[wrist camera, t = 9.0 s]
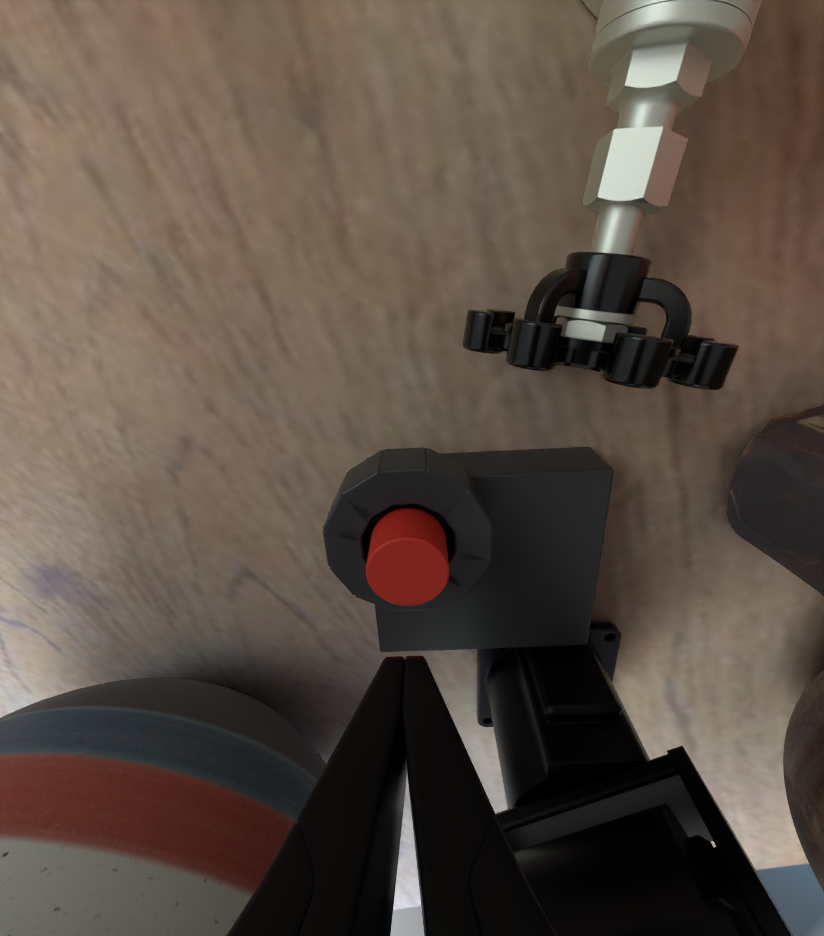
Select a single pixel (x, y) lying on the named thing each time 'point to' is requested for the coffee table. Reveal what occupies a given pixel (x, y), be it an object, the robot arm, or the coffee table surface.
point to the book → (784, 494)
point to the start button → (408, 557)
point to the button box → (483, 543)
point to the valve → (630, 205)
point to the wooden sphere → (807, 773)
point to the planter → (144, 808)
